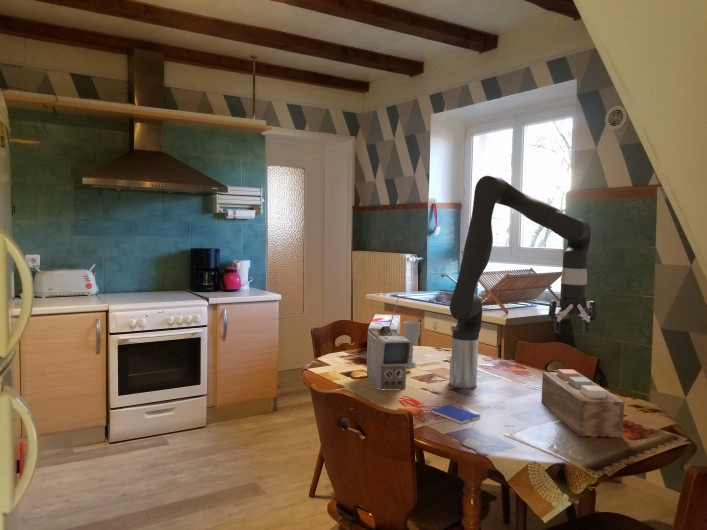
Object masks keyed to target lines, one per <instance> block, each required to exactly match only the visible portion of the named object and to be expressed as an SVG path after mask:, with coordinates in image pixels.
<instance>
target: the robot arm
mask: <svg viewBox="0 0 707 530" xmlns="http://www.w3.org/2000/svg"><path fill="white" fill-rule="evenodd" d="M472 203H473V204H472V211H471V217H470V222H469V225H468V229H467V230H468V231H467V234H466V235H467V236H466V239H465V244H464V248H463V253H462V258H461V262H460V266H459V271H458V275H457V281H456V284H455V286H454V290H453V293H452V296H451V299H450V302H449V313H450V315H451V316H452V317H453V318H454V319H455V320H457V323H456V325H455V327H454V328H453V329H452V333H451V334H452V336H451V356H450V357H449V379H448V381H449V384H450V386H451V387H453V388H458V389H459V388H460V389H474V388H476V387H477V383H478V382H477V381H478V357H479V356H478V355H479V353H478V352H479V335H480V332H481V330H482V321H483V319H482V318H483V303H482V300H481V297H479V296H478V294H475V293H476V289H477V288H476V287H477V284H478V282H479V281H480V278H481V277H482V275H483V273H484V271H485V269H486V267H487V266H488V264H489V261H490V259H491V258H490V257H491V253H492V248H493V244H494V237H493V234H494V233H493V225H492V218H493V214H494V209H495V206H496V204H497V205H502V206H506V207H508V208H511V209H512V210H515V211H516V212H518V213H520V214H521V215H523V216H524V217H525V218H527V219H528V220H530V221H531V222H534V223H536V224H537V225H538V226H539V225H540V226H541V227H542V228H546V229H547V230H550V231H552V232H553V233H554V234H556V235H557V236H559V237H561V238H562V239H564V240H566V241H567V244H566V245H567V246H566V249H565V250H564V252H563V256H562V270H561V276H560V277H561V278H560V293H559V294H560V299H559V300H553V299H550V301H549V307H548V314H547V315H548V317H547V318H548V319H550V320H553V330H554V332H555V333H556V334H561V325H562V323H561V322H562V319H563V318H564V317H566V316H567V315H576V316H580V317H581V319H582V320H583V321H582V324H581V325H582V326H581V333H582V335H583V334H584V335H587V333H589V331H590V330H589V329H590V322H591V321H596V319H597V303H596V302H595V301H594V300H588V301H587V300H586V298H587V282H588V271H587V265H588V251H589V248H590V242H591V237H592V236H591V235H592V230H591V225H590V224H589V222H588V221H587V220H585V219H582V218H575V217H572V216H570V215H568V214H566V213H563V211H562V210H560V209H559V208H557V207H555V206H553V205H550V204H548V203H546V202H544V201H542V200H540V199H537V198H534V197H532V196H530V195H529V194H526V193H524V192H522V191H520V190H519V189H518V188H516V187H514V186H513V185H512V184H510V183H509V182H507V181H506V180H504V179H503V178H501V177H499V176H494V175H484V176H482V177H481V178H479V180H478V181H477V182H476V184H475V188H474V193H473V202H472ZM558 306H559V307H560V309H559V310H558V311H557V308H558ZM586 307H587V308H588V314H587V312H586V311H585V308H586ZM556 311H557V313H556Z"/></svg>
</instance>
